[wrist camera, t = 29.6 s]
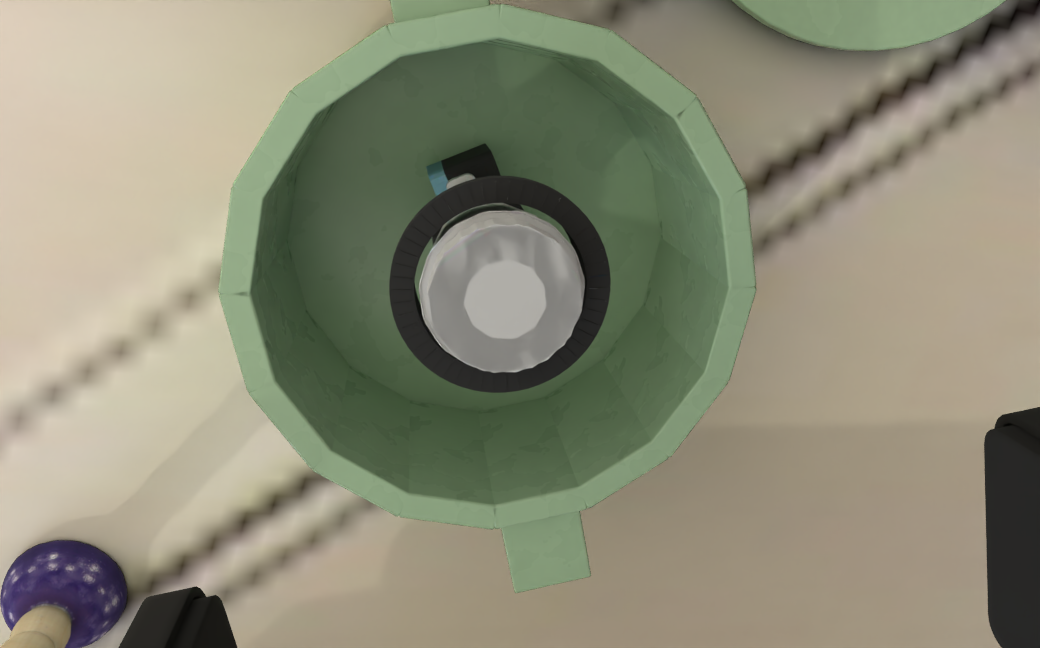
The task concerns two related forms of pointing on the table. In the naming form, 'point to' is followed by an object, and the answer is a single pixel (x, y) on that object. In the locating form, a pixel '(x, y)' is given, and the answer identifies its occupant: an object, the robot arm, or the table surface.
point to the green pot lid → (867, 20)
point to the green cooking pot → (385, 215)
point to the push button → (497, 279)
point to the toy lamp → (61, 596)
